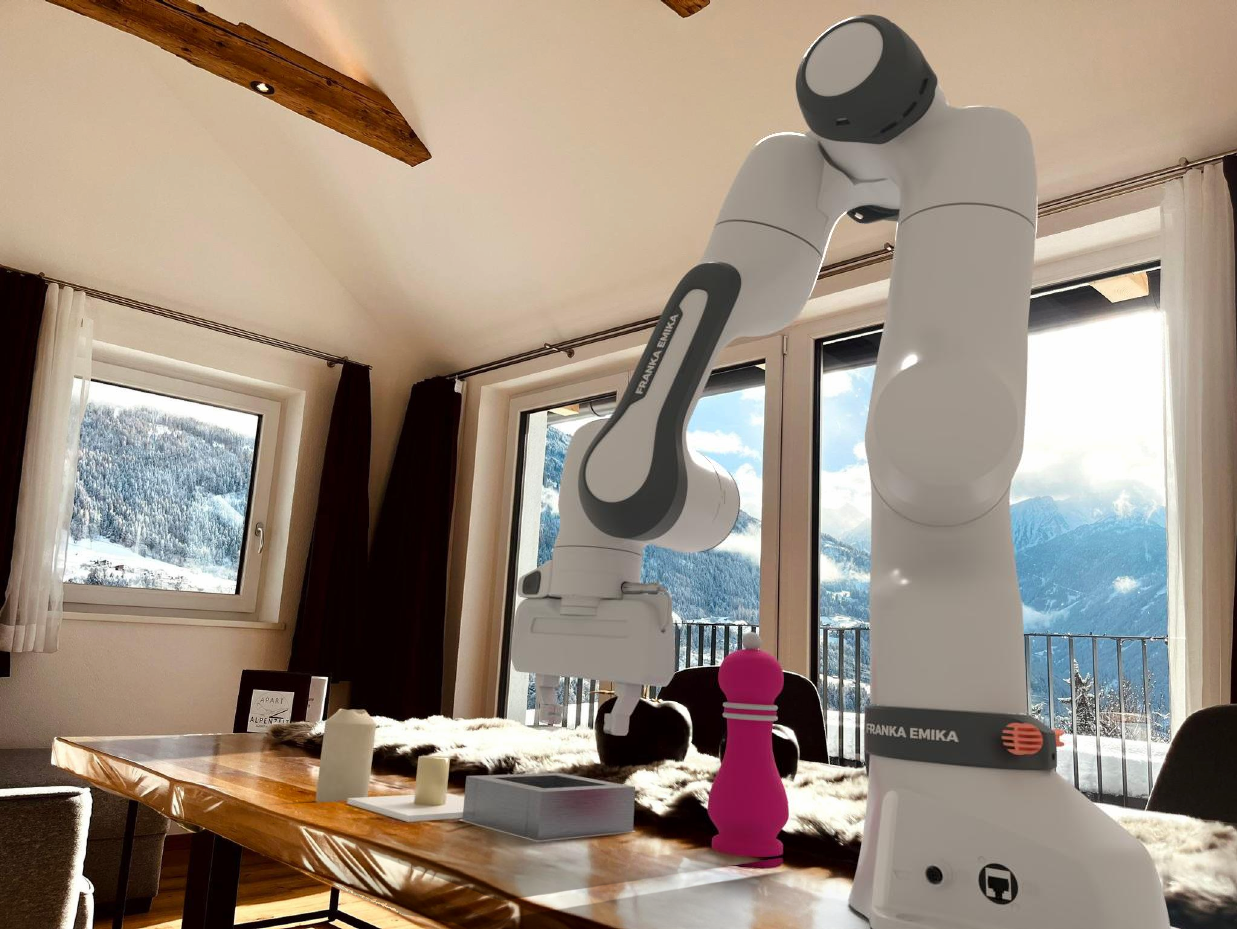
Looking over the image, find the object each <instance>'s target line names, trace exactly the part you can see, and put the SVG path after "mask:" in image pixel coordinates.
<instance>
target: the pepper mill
mask: <svg viewBox="0 0 1237 929" xmlns="http://www.w3.org/2000/svg"><path fill="white" fill-rule="evenodd" d="M741 643H742V647H743V648H744V649H738V650H735V651H732V652H730V653H729V654H728V655H726V656H725V657H724V658H723V660H722V662H721V664H720V665H719V670H718V676H717V678H718V679H717V680H718V684H719V688H720V689H721V691H722V692H723V693H724V695H725V697H726V700H727V701H725V702H723V703H722V707H724V709H723V713H722V717H723V718H726V727H727V730H726V731H727V738H726V748H725V751H724V755H723V759H722V762H721V764H720V765H719V766H720V767H719V769H718V771H717V773H716V775H715V777H714V780H713V782H712V784H711V788H710V791H709V794H708V799H707V800H708V801H707V808H706V809H707V814H708V816H709V818H710V820H711V821H712V823H713V825H714V826H715V828H716V829H717V831H718V834H716V835H714V836H713V837H712V838H711V848H712V849H713V850H715V851H717V852H720V853H724V854H729V855H733V856H734V855H735V856H741V857H752V858H753V857H754V858H757V857H758V858H770V857H771V859H766V860H765V859H764V860H758V861H750V862H745V863H744V862H743V863H738V864H737V863H736V864H732V865H729V866H731V867H737V868H745V869H757V870H758V869H774V868H778V867H781V865H783V863H784V858H783V857H779V856H782V855H783V854H784V850H783V849H784V844H783V843H782V841H781V840H779V839H778V838H777V837H778V835H779V833H780V832H781V831H782V830H783V828H784V827H785V826H786V824H787V823H788V821H789V817H790V808H789V800H788V795H787V791H786V788H785V785H784V782H783V781H782V778H781V776H780V773H779V770H778V767H777V765H776V761H775V756H774V752H773V738H772V737H773V735H772V734H773V727H774V722H776V721H778V719H779V718H778V716H777V714H778V712H777V710H778V709H779V707H778V706H777V705H775V700H776V698H777V697H778V696H779V694H781V693H782V690H783V689H784V683H785V682H784V681H785V680H784V679H785V678H784V677H785V676H784V672H783V667H782V665H781V663H780V662H779V660H778V659H777V658H776V657H774V655H772V654H771V653H769V652H766V651H764V650H761V649H760V647H761V645H762V638H761V636H760V635H758V633H756V632H754V631H749V632H746V633H745V634H744V635H743V637H742V640H741ZM772 857H778V858H772Z"/></svg>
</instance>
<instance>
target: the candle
mask: <svg viewBox="0 0 1237 929" xmlns="http://www.w3.org/2000/svg"><path fill="white" fill-rule="evenodd" d="M376 728H377V723H376V721H375V720H374V719H373V718H372V716H370V714H369V713H368V712H367V710H366V709H354V708H353V709H344V708H339V709H338V710H337V711H336V712H335V713H333V715H331V716H330V717H329V718H328V719H326V721H325V723H324V730H323V739H322V745H321V746H322V747H321V754H320V762H319V769H318V777H317V785H316V793H315V803H331V802H335V803H337V802H348V798H361V797H369V789H370V780H371V771H372V762H373V755H374V744H375V737H376V731H377V730H376Z"/></svg>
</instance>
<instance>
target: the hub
mask: <svg viewBox="0 0 1237 929" xmlns="http://www.w3.org/2000/svg"><path fill="white" fill-rule="evenodd" d="M450 761H451V757H448V756H443V755H442V756H440V755H439V756H438V755H421V756H420V755H419V756H418V760H417V767H416V768H417V769H416V777H415V787H414V789H415V790H414V794H403V795H385V796H368V797H361V798H348V801H346V802H347V805H350V806H353V807H357V808H360V809H363V810H367V811H370V812H374V813H377V814H380V815H384V816H387V817H391V818H393V819H397V820H400V821H404V822H407V823H414V822H415V823H416V822H427V821H429V822H430V821H439V820H442V821H443V820H454V819H455V820H456V819H463V808H464V797H465V796H460V795H457V794H453V793H449V792H448V782H449V781H448V780H449V772H450V771H449V770H450Z"/></svg>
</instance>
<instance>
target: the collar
mask: <svg viewBox="0 0 1237 929" xmlns="http://www.w3.org/2000/svg"><path fill="white" fill-rule="evenodd" d="M464 787H465V788H464V789H465V790H464V796H463V797H464V808H463V818H461V820H464V821H468V822H472V823H475V824H479V825H483V826H486V827H490V828H494V829H497V830H501V831H505V832H508V833H512V834H516V835H519V836H523V837H527V838H530V839H534V840H538V841H539V840H549V839H559V838H569V837H579V836H589V835H599V834H609V833H619V832H629V831H634V818H635V817H634V816H635V800H636V795H635V794H636V786H633V785H628V784H622V783H617V782H611V781H605V780H599V779H595V778H588V777H584V776H578V775H573V774H567V773H562V772H544V773H543V772H542V773H541V772H540V773H538V772H537V773H519V774H518V773H517V774H516V773H513V774H489V775H488V774H487V775H466V777H465V786H464ZM464 821H463V822H464ZM475 824H474V825H475ZM486 827H485V828H486ZM629 833H630V832H629ZM619 834H620V833H619Z"/></svg>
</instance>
